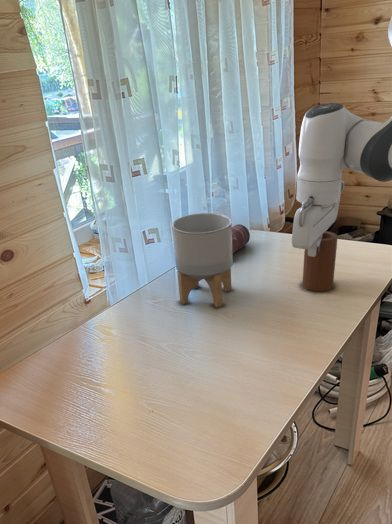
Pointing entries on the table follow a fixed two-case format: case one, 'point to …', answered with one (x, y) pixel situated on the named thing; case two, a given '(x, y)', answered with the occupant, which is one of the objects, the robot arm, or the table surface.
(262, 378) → the table surface
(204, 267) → the planter
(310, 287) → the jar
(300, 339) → the table surface
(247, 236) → the can
